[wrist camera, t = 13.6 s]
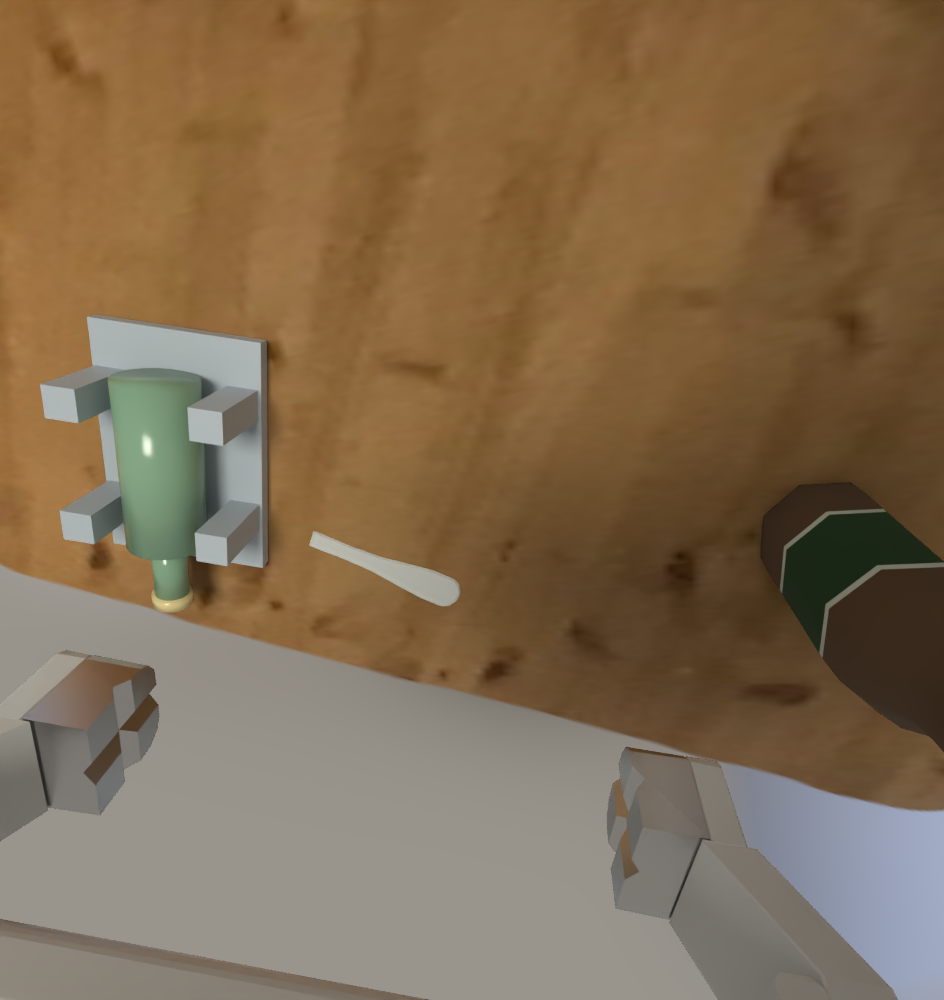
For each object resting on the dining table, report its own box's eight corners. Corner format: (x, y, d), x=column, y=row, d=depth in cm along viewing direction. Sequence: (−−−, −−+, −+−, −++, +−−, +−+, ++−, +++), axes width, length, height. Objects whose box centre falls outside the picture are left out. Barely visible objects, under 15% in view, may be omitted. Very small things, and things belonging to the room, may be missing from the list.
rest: (97, 314, 41) (28, 330, 35) (267, 340, 40) (223, 359, 35) (122, 536, 47) (67, 579, 42) (268, 560, 47) (231, 606, 42)
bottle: (138, 363, 41) (88, 382, 36) (215, 375, 41) (174, 396, 36) (157, 577, 47) (117, 616, 43) (224, 587, 47) (190, 628, 43)
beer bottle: (789, 460, 40) (1084, 755, 18) (907, 497, 40) (1336, 833, 18) (733, 563, 43) (926, 919, 22) (842, 597, 44) (1142, 983, 22)
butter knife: (451, 615, 47) (465, 583, 46) (136, 489, 46) (143, 453, 44) (451, 611, 48) (466, 580, 46) (140, 487, 46) (147, 451, 45)
